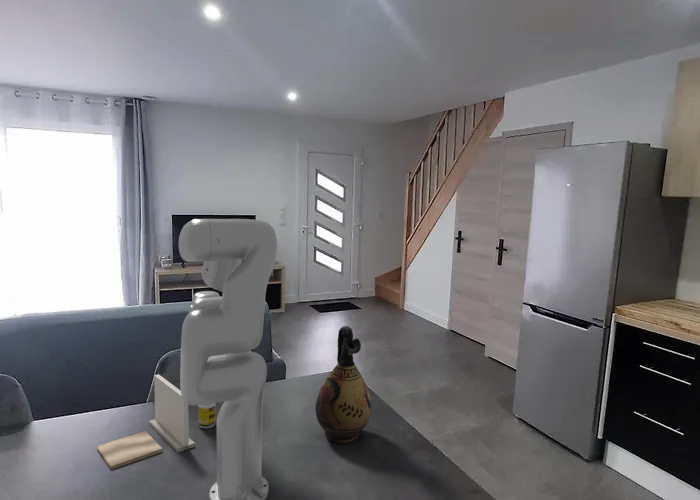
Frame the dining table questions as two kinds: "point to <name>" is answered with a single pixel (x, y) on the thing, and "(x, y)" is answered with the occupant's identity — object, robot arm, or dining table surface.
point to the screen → (171, 415)
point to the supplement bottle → (207, 415)
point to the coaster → (128, 449)
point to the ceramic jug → (344, 394)
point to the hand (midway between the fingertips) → (206, 393)
